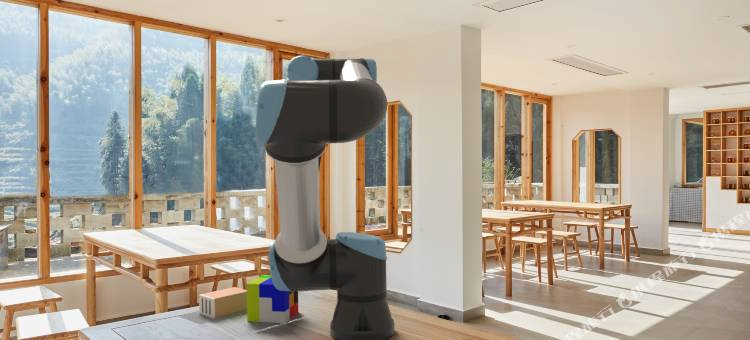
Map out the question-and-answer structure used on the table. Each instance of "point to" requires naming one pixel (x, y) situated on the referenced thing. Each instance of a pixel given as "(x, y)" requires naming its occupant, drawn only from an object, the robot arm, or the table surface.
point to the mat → (205, 317)
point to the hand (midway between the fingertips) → (306, 204)
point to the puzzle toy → (270, 302)
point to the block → (223, 302)
